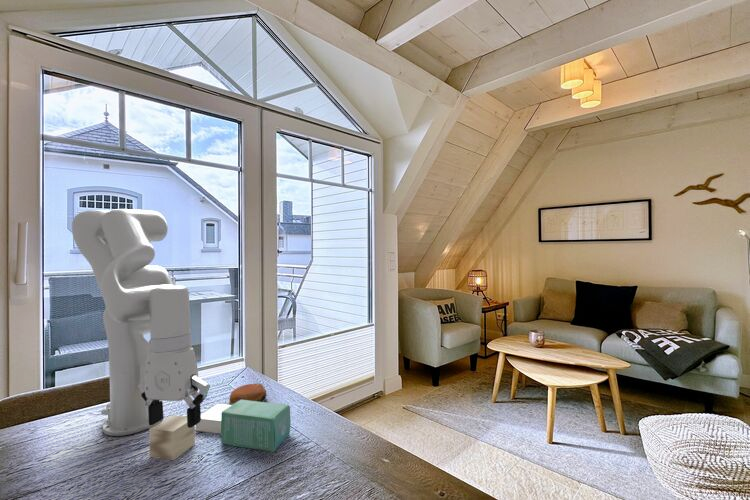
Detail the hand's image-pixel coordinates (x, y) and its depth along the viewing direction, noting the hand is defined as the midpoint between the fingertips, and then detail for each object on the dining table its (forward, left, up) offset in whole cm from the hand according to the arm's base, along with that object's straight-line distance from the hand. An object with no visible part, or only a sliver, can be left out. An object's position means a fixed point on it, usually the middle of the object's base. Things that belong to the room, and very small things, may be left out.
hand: (175, 423), depth 75 cm
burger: (+2, +24, -7) cm, 25 cm away
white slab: (+2, +12, -6) cm, 14 cm away
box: (+15, +8, -7) cm, 18 cm away
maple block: (-1, 0, -6) cm, 6 cm away
